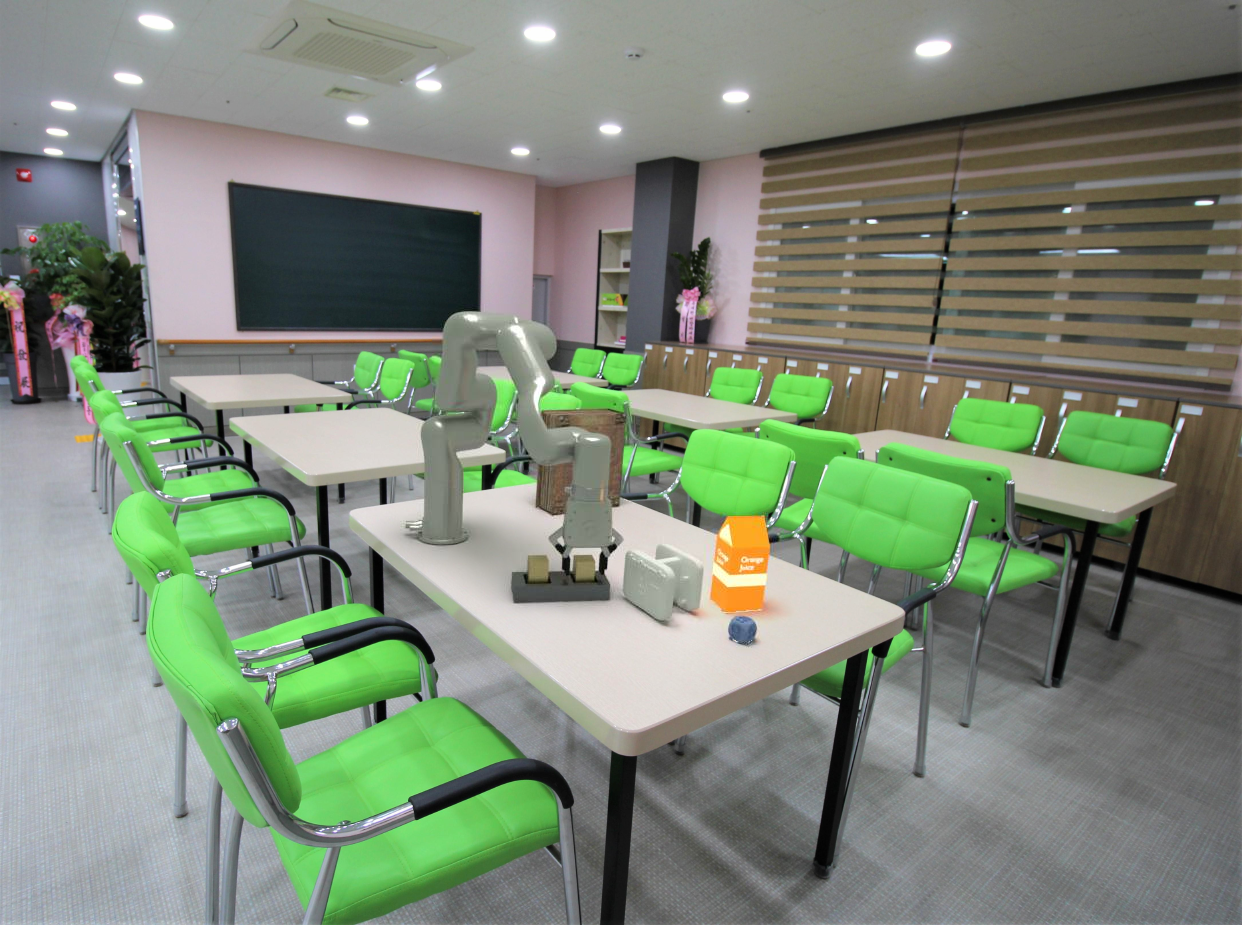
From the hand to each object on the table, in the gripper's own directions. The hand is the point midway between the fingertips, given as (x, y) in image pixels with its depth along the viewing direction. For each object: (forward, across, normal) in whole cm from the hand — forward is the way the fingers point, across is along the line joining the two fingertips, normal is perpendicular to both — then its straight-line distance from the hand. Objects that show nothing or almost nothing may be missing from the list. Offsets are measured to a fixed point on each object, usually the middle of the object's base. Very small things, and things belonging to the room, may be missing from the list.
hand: (584, 572), depth 144 cm
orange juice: (+5, +32, -8) cm, 33 cm away
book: (+5, +10, +65) cm, 66 cm away
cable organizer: (+5, +15, -8) cm, 18 cm away
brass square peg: (+5, 0, 0) cm, 5 cm away
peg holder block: (+5, -5, 0) cm, 7 cm away
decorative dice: (+5, +27, -23) cm, 36 cm away
